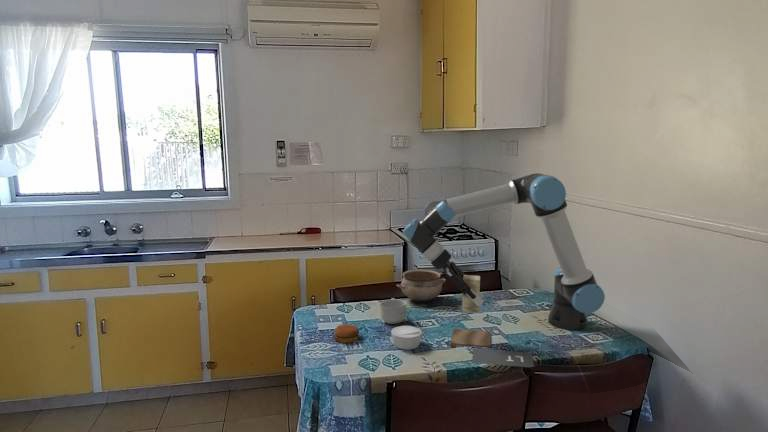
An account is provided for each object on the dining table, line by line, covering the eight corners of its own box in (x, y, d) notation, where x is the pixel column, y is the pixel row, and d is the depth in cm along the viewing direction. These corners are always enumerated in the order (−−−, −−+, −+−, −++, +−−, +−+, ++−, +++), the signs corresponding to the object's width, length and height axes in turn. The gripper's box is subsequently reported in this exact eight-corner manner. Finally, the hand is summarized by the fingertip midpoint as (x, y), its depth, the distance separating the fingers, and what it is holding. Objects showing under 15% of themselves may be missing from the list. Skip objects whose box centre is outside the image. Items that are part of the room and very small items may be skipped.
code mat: (531, 355, 180) (531, 353, 180) (534, 370, 169) (534, 367, 169) (472, 351, 184) (473, 348, 184) (472, 365, 173) (472, 362, 173)
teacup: (403, 327, 207) (403, 307, 206) (377, 325, 209) (377, 306, 208) (409, 315, 220) (409, 297, 219) (384, 313, 222) (384, 295, 221)
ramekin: (412, 353, 182) (412, 339, 181) (385, 346, 188) (385, 333, 187) (427, 343, 191) (427, 329, 191) (400, 336, 197) (401, 323, 196)
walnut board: (490, 335, 198) (490, 331, 198) (490, 350, 185) (490, 346, 185) (453, 332, 201) (453, 328, 201) (450, 346, 188) (450, 342, 187)
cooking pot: (405, 310, 227) (405, 282, 225) (388, 297, 244) (388, 272, 242) (455, 302, 236) (455, 276, 235) (435, 291, 254) (435, 267, 252)
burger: (349, 345, 189) (348, 333, 188) (328, 340, 194) (328, 328, 193) (364, 336, 197) (364, 325, 197) (344, 332, 202) (344, 320, 202)
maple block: (479, 307, 193) (480, 275, 192) (478, 312, 188) (479, 280, 186) (462, 306, 195) (463, 274, 193) (462, 311, 189) (463, 279, 187)
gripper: (432, 256, 201) (474, 299, 200) (427, 268, 182) (472, 316, 182) (446, 243, 199) (488, 287, 198) (442, 254, 180) (488, 302, 180)
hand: (481, 301), depth 190 cm, fingers closed on maple block, 6 cm apart
